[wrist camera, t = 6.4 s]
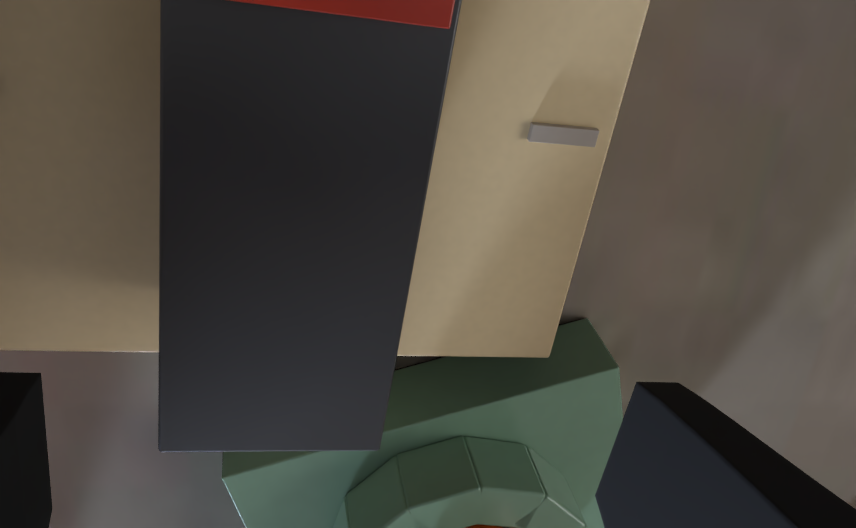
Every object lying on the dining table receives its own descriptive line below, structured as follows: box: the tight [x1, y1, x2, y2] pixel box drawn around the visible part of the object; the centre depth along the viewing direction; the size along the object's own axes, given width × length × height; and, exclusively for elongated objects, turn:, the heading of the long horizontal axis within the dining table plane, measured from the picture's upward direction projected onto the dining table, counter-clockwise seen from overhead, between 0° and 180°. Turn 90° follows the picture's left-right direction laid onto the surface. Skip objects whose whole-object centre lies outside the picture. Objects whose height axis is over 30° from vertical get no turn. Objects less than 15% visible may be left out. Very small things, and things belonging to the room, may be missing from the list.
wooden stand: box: [0, 0, 650, 358], centre depth 15 cm, size 13×12×3 cm
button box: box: [222, 318, 623, 528], centre depth 21 cm, size 10×8×4 cm
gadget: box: [158, 0, 462, 452], centre depth 12 cm, size 8×3×5 cm, turn 170°
